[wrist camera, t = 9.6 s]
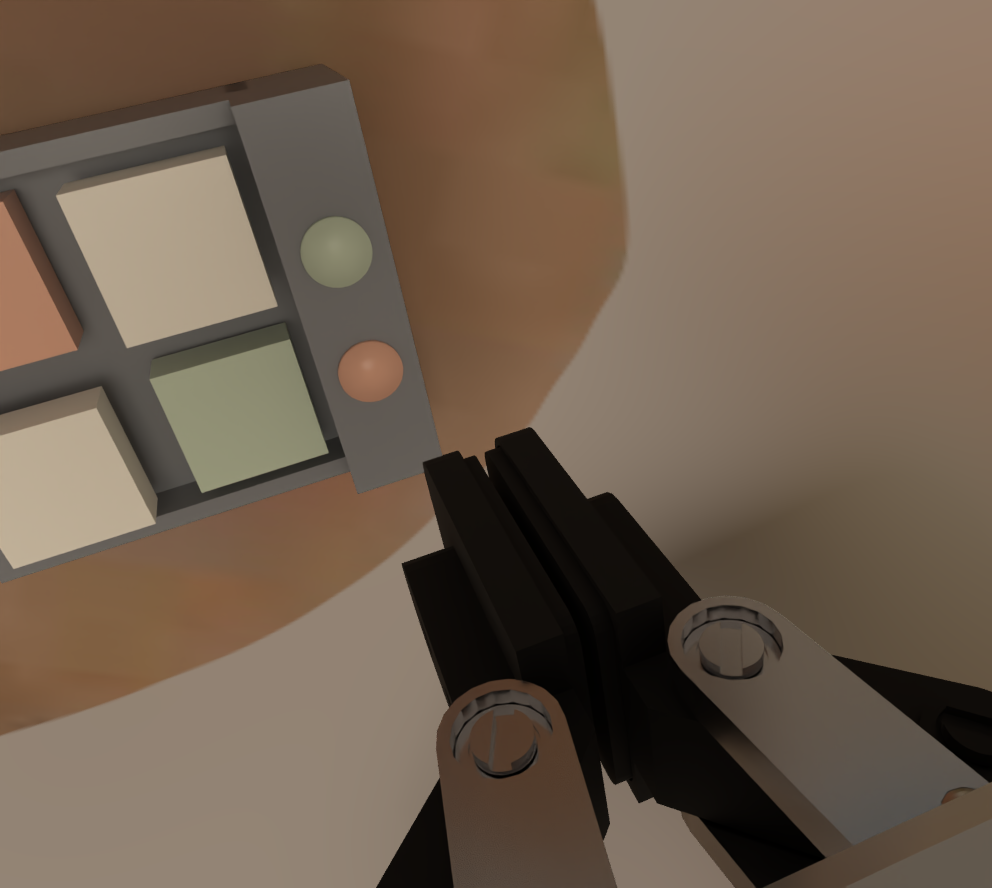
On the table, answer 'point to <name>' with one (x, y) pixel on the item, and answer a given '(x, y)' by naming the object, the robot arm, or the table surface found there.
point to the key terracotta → (30, 294)
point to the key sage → (239, 406)
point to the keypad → (291, 268)
